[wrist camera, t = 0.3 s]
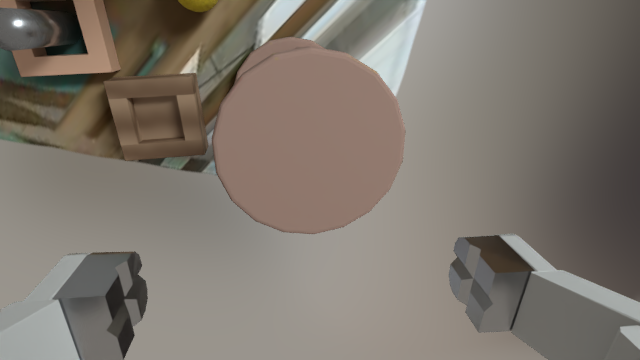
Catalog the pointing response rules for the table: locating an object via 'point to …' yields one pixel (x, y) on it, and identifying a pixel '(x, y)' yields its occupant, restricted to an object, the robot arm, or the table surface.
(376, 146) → the hourglass
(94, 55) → the socket collar
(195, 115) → the square peg hole block
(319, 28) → the table surface
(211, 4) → the lemon
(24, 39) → the steel peg
